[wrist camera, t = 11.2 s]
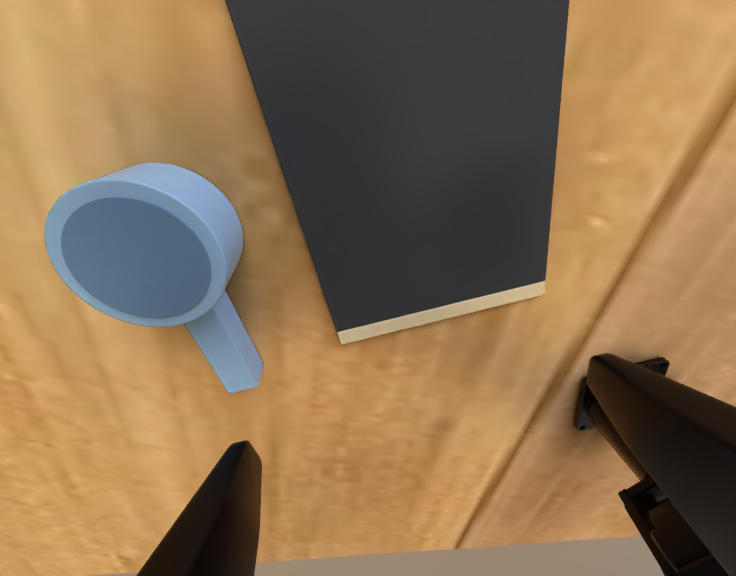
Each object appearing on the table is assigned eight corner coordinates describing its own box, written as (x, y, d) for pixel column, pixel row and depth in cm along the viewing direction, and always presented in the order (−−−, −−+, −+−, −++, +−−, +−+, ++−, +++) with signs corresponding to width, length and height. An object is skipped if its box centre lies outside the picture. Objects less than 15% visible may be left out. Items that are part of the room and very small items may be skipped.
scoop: (66, 181, 14) (-4, 205, 11) (208, 146, 14) (176, 159, 11) (201, 378, 21) (180, 427, 18) (299, 354, 21) (294, 399, 18)
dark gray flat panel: (541, 291, 20) (544, 294, 20) (341, 341, 20) (341, 345, 20) (576, -140, 11) (582, -146, 11) (210, -48, 11) (207, -52, 11)
